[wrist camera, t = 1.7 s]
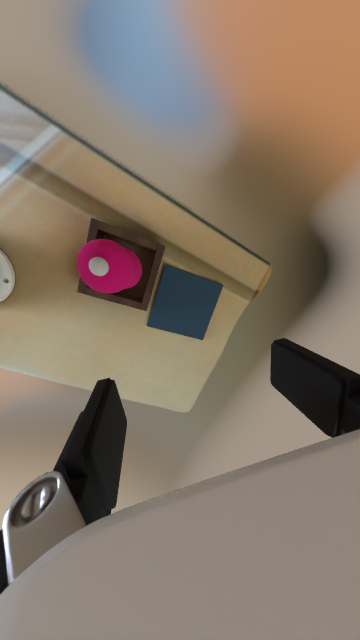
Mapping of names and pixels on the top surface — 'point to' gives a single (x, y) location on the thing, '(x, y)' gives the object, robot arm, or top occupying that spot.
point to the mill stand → (101, 229)
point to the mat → (184, 303)
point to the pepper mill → (108, 266)
